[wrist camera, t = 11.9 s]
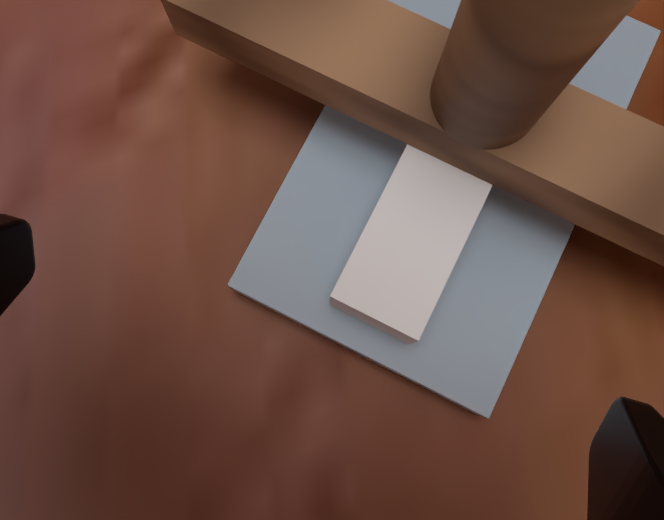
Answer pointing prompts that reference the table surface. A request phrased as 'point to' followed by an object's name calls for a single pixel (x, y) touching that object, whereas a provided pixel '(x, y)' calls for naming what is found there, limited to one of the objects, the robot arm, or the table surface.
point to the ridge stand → (418, 243)
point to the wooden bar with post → (466, 94)
